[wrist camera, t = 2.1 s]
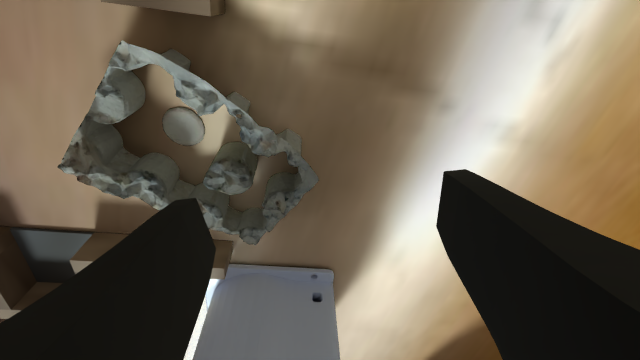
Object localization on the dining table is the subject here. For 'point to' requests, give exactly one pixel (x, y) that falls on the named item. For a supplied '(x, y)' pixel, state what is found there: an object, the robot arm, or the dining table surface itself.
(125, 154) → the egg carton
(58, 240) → the brown flat cross-shaped frame
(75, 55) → the dining table surface
